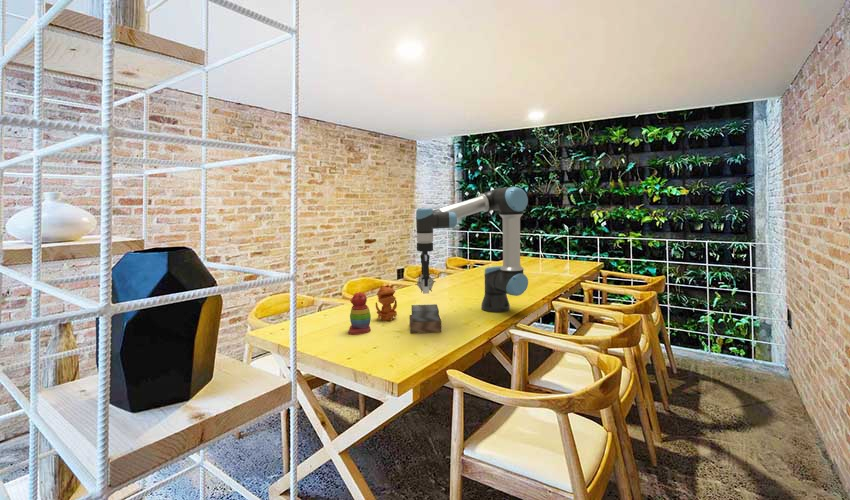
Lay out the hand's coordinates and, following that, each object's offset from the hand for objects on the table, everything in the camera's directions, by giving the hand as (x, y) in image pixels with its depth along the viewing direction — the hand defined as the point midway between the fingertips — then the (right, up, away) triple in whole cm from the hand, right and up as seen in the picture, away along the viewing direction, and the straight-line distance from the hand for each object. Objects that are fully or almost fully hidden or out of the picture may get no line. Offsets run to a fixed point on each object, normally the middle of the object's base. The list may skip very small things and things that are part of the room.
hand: (425, 291), depth 199 cm
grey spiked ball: (0, 0, 0) cm, 0 cm away
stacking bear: (-30, -19, +1) cm, 35 cm away
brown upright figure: (-19, -16, +19) cm, 31 cm away
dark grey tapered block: (0, -18, +2) cm, 18 cm away
